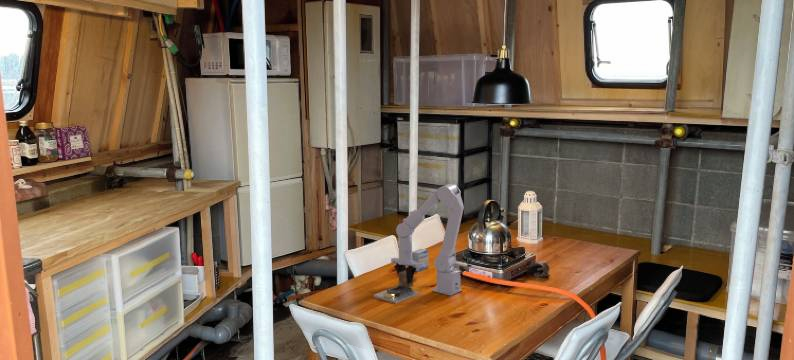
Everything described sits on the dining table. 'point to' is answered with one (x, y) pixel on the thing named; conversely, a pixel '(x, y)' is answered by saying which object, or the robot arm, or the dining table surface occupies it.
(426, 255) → the medicine box
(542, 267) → the caster wheel
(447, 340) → the dining table surface
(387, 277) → the dining table surface
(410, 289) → the steel rosette plate
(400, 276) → the walnut wedge block
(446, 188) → the robot arm
